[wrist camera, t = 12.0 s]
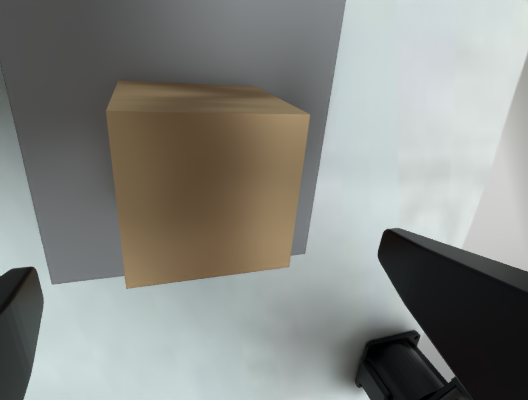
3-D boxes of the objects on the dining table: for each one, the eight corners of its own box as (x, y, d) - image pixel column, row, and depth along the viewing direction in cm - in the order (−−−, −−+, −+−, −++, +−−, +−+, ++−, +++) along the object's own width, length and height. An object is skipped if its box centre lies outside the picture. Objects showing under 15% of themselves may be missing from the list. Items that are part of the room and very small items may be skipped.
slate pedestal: (309, 3, 19) (346, -2, 16) (282, 222, 25) (304, 253, 22) (12, -36, 15) (-27, -55, 11) (66, 242, 21) (51, 284, 17)
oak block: (256, 86, 16) (310, 114, 11) (248, 201, 19) (288, 267, 14) (118, 80, 14) (106, 110, 9) (130, 208, 17) (126, 288, 12)
